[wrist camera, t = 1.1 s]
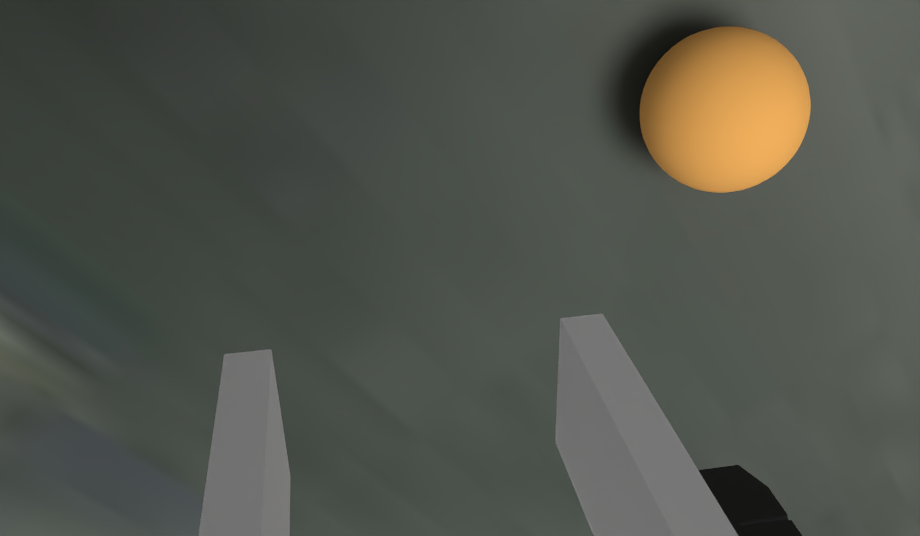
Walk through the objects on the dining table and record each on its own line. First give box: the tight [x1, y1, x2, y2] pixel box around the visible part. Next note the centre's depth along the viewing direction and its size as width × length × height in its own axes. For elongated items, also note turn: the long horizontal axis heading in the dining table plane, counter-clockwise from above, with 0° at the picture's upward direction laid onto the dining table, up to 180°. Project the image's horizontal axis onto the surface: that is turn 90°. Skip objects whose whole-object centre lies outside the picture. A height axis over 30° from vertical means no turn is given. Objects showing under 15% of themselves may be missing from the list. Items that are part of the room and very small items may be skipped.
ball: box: [640, 27, 811, 193], centre depth 29 cm, size 6×6×6 cm
